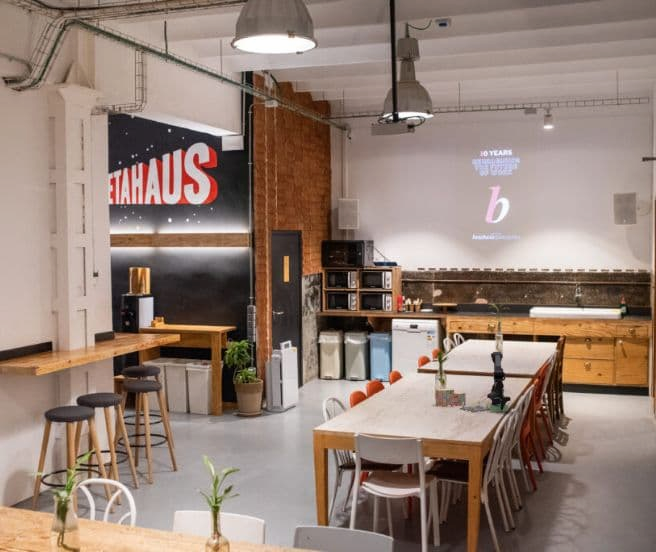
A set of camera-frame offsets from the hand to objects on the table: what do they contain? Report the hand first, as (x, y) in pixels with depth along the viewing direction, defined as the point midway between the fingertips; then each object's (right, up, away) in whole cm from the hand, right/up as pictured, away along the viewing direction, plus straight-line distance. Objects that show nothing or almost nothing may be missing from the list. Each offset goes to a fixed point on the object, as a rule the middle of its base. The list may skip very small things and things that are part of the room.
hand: (498, 409), depth 576 cm
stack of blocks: (-31, -1, +21) cm, 38 cm away
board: (0, -1, 0) cm, 1 cm away
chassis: (-16, -1, +4) cm, 17 cm away
